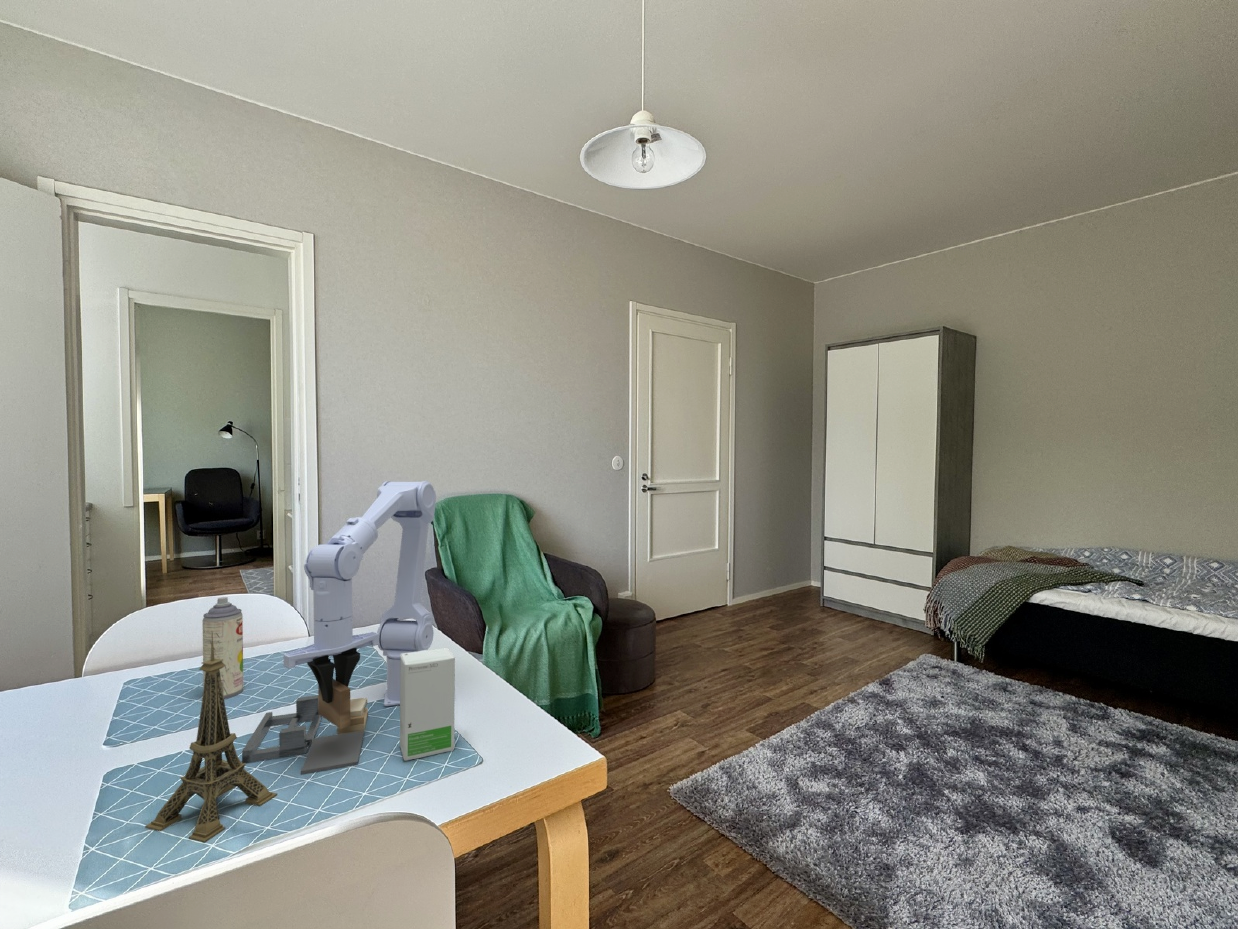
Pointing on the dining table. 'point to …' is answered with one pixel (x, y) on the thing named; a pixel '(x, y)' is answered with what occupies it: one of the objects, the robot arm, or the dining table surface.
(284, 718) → the rack
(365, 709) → the offcut stack
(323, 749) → the mat
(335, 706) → the walnut sheet
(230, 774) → the eiffel tower
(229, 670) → the aerosol can
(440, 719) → the skincare box
